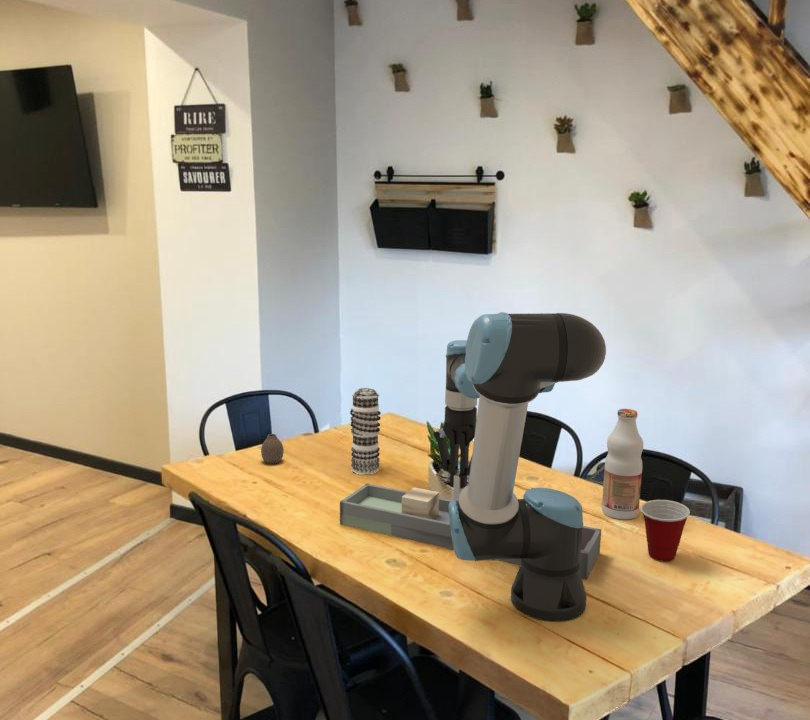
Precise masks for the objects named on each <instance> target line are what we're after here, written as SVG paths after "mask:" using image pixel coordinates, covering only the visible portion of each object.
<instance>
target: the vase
mask: <svg viewBox="0 0 810 720" xmlns="http://www.w3.org/2000/svg"><path fill="white" fill-rule="evenodd" d="M260 453H261V454H260V455H261V459H262V460H263V461H264V462H265V463H266V464H269V465H275V464H278V463H279V462H280V461H282V459H283V457H284V454H285V453H284V445H283V443H282V441H281V440H279V438H278V436H277V434H276V433H269V434H268V435H267V437H266V439H265V440H264V441H263V442H262V444H261V448H260Z"/></svg>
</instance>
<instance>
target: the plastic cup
mask: <svg viewBox="0 0 810 720" xmlns="http://www.w3.org/2000/svg"><path fill="white" fill-rule="evenodd" d="M639 510H640V513H642V515H643V519H644V525H645V526H644V527H645V535H646V537H645V538H646V542H647V543H646V544H647V552H648V556H649V558H650V559H652V560H655V561H659V562H673V561H674V560H675V557H676V555H677V551H678V548H679V546H680V543H681V539H682V535H683V532H684V530H685V529H684V528H685V525H686V523H687V522H686V521H687V519H688V518H689V516H690V515H691V511H690V508H689V507H687V506H686V505H685V504H682V503H681V502H678V501H674V500H668V499H653V500H649V501H648V500H647V501H646V502H643V503H641V505H639Z"/></svg>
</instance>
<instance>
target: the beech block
mask: <svg viewBox="0 0 810 720" xmlns="http://www.w3.org/2000/svg"><path fill="white" fill-rule="evenodd" d="M439 498H440V491H436V490H435V491H433V490H429V489H424V488H419V487H412V488H411V489H410V490H408V491H407V493H406V494H405V495H403V496H402V512H401V513H404V514H409V515H414V516H418V517H423V518H428V519H433V520H434V519H435V518H436V517H437V516H438V515H439Z"/></svg>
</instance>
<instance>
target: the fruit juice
mask: <svg viewBox="0 0 810 720" xmlns="http://www.w3.org/2000/svg"><path fill="white" fill-rule="evenodd" d="M617 418H618V419H617V422H616V425H615V427H614V428H613V430H612V432H611V433H610V434H609V436H608V437H607V441H606V442H607V443H606V448H607V451H608V452H607V455H606V457H605V460H604V461H605V462H604V469H603V470H604V472H603V486H602V498H601V499H602V500H601V512H602V513H603V514H604V515H605V516H607V517H610V518H613V519H616V520H617V519H618V520H631V519H636V518H637V517H638V515H639V511H640V499H641V490H642V489H641V488H642V487H641V486H642V474H643V460H642V452H643V450H644V440H643V438H642V436H641V434H640V432H639V430H638V427H637V421H636V420H637V419H638V411H637V410H635V409H633V408H619V409H617Z"/></svg>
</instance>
